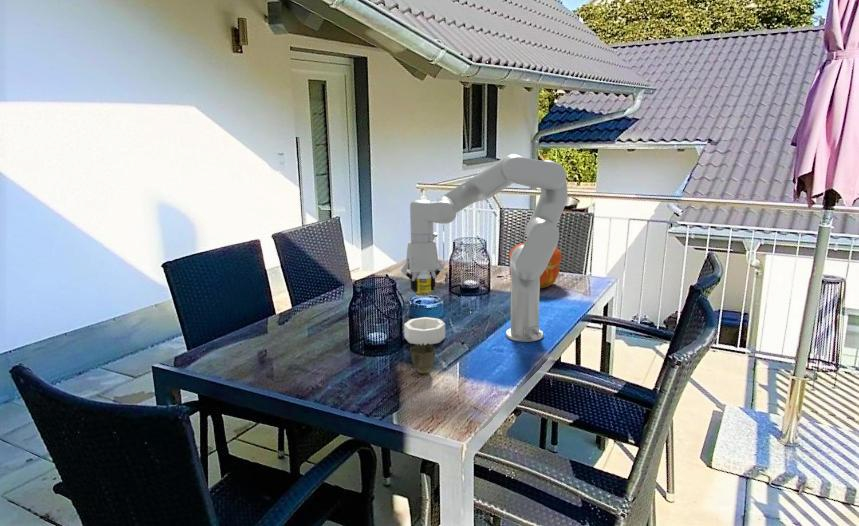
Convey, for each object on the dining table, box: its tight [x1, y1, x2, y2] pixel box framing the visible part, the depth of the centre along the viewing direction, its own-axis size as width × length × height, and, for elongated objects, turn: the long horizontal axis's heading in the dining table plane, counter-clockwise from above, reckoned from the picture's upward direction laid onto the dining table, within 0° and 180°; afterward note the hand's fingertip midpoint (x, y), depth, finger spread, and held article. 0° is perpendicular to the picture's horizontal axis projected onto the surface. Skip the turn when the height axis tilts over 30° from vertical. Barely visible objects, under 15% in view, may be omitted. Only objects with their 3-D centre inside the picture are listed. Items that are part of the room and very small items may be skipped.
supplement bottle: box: [414, 270, 432, 298], centre depth 198 cm, size 5×5×10 cm
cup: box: [409, 343, 436, 375], centre depth 174 cm, size 8×7×8 cm
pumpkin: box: [508, 242, 563, 289], centre depth 260 cm, size 23×23×20 cm
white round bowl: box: [403, 316, 446, 346], centre depth 203 cm, size 13×13×5 cm
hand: (423, 289), depth 199 cm, fingers closed on supplement bottle, 5 cm apart
